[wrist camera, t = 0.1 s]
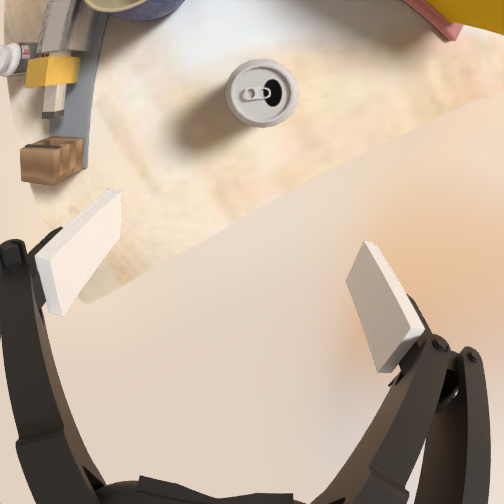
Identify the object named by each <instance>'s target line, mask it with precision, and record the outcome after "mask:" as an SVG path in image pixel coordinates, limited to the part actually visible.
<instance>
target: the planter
mask: <svg viewBox="0 0 504 504" xmlns="http://www.w3.org/2000/svg"><path fill="white" fill-rule="evenodd" d="M84 1H85V3H86V4H87V5H88V6H89V7H91V8H92V9H94V10H96V11H99V12H103V13H106V14H110V15H113V16H116V17H119V18H123V19H127V20H133V21H150V20H155V19H158V18H161V17H163V16H166V15H168V14H169V13H171V12H172V11H174V10H175V9H177V8H178V7H179V6H180V5H181V4H182V3H183V2H184V1H185V0H84Z"/></svg>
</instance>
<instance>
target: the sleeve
mask: <svg viewBox="0 0 504 504" xmlns="http://www.w3.org/2000/svg"><path fill="white" fill-rule="evenodd" d="M99 14H100V12H99V11H96V10H94V9H92V8H91V7H89V6H88V5H87V4H86V3H85V1H84V0H56V1H52V2H48V5H47V8H46V12H45V16H44V20H43V24H42V28H41V33H40V37H39V42H38V47H37V53H50V52H52V51H59V50H71V51H72V52H71V53H77V52H89V51H91V48H92V43H93V39H94V34H95V30H96V25H97V21H98V17H99Z"/></svg>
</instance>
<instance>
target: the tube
mask: <svg viewBox="0 0 504 504" xmlns="http://www.w3.org/2000/svg"><path fill="white" fill-rule="evenodd" d="M71 52H72V51H71V50H59V51H52V52H50V55H49V56H48V57H41V58H35V59H29V60H28V66H27V73H26V81H25V88H29V87H39V86H45V92H44V103H43V112H42V119H54V118H58V117H61V116H64V103H65V93H66V85H67V83H77V81H78V74H79V68H80V62H81V57H71Z"/></svg>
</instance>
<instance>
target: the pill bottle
mask: <svg viewBox="0 0 504 504" xmlns="http://www.w3.org/2000/svg"><path fill="white" fill-rule="evenodd" d="M37 47H38V43H10V44H8V45H6V46H0V75H1V76H3V77H9V76H17V75H25V74H26V73H27V66H28V60H29V59H35V58H41V57H45V56H46V53H37Z"/></svg>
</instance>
